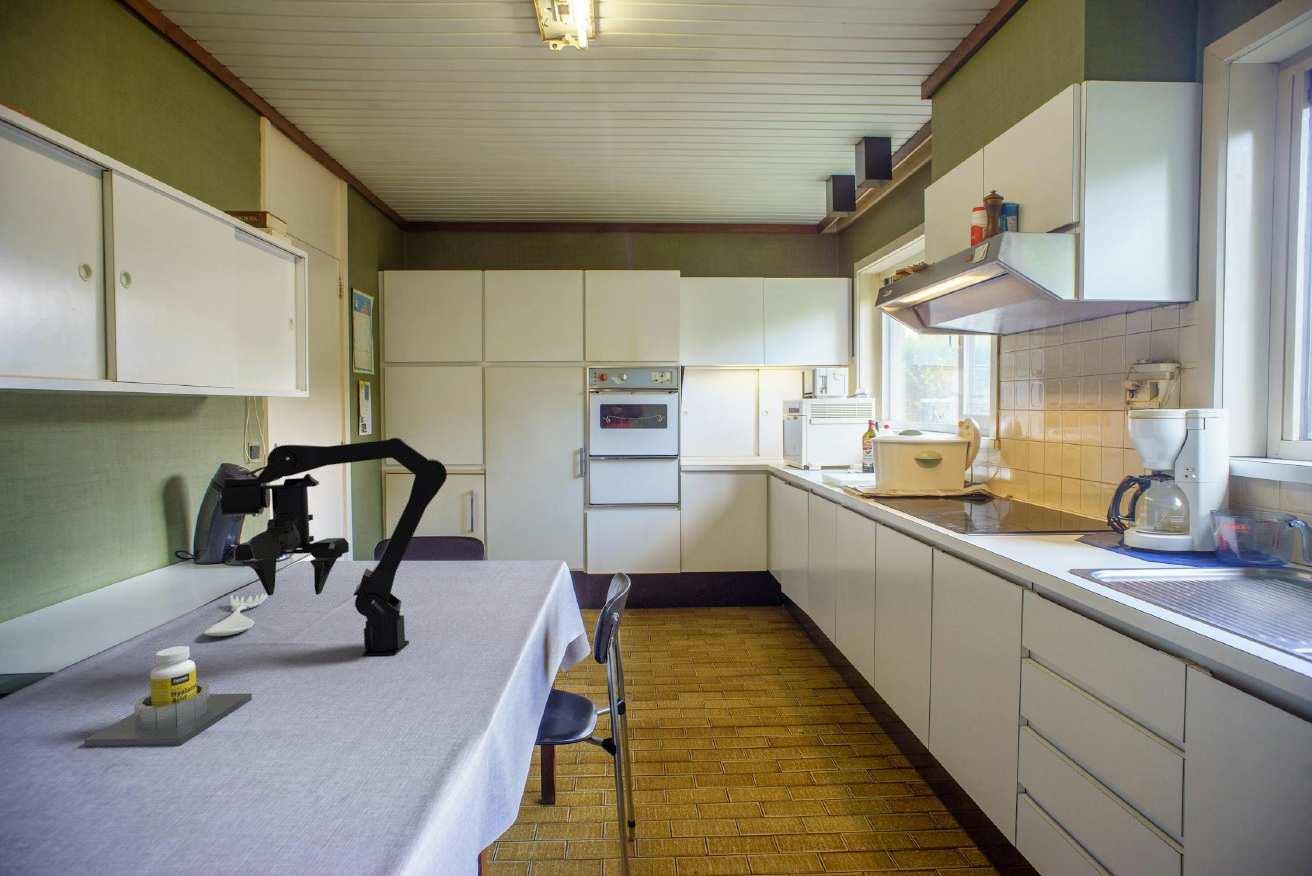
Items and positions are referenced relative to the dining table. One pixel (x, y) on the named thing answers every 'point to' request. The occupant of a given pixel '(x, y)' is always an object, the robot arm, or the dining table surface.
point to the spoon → (235, 617)
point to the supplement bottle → (173, 676)
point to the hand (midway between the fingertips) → (294, 594)
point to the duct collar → (169, 720)
